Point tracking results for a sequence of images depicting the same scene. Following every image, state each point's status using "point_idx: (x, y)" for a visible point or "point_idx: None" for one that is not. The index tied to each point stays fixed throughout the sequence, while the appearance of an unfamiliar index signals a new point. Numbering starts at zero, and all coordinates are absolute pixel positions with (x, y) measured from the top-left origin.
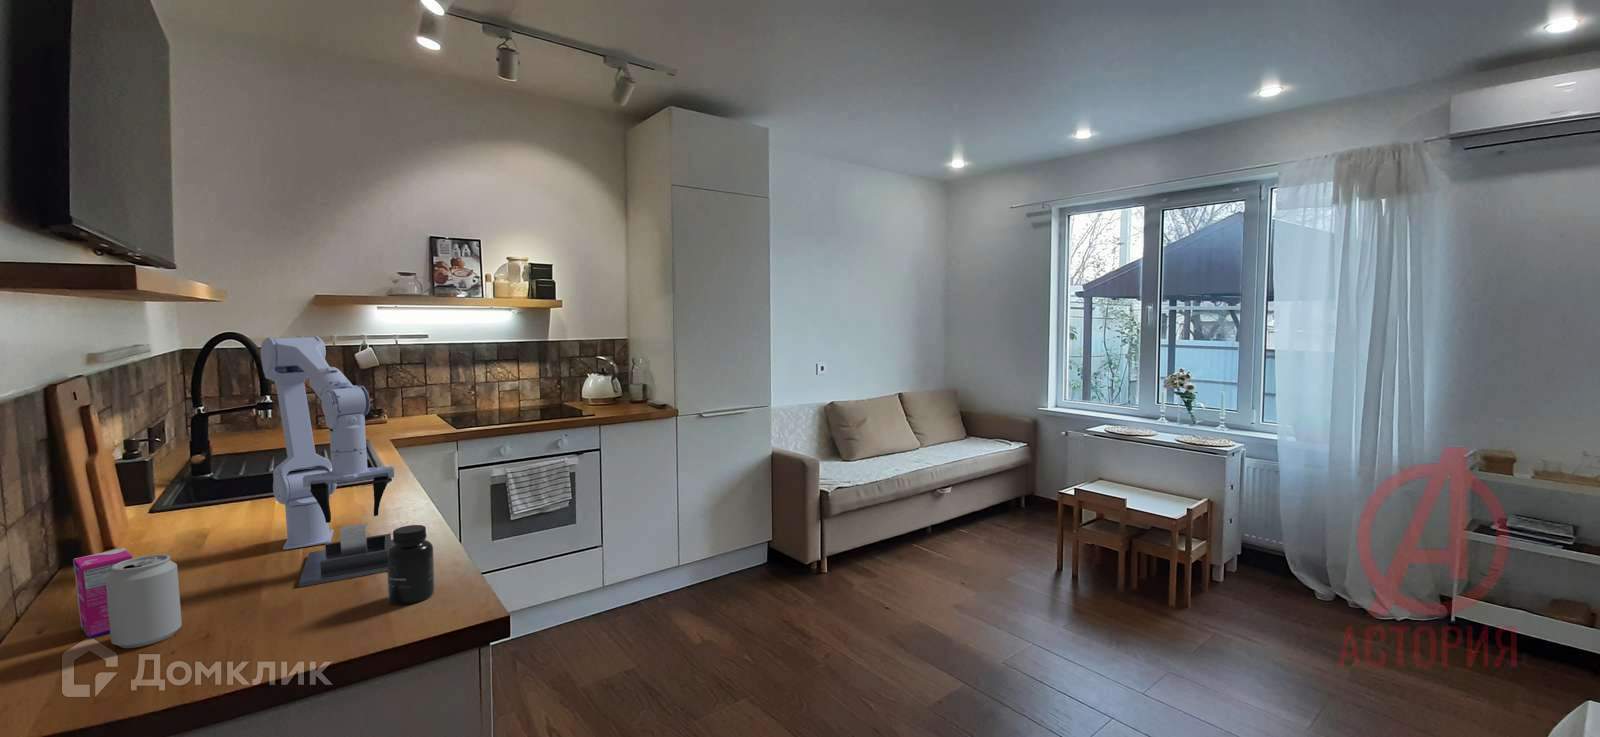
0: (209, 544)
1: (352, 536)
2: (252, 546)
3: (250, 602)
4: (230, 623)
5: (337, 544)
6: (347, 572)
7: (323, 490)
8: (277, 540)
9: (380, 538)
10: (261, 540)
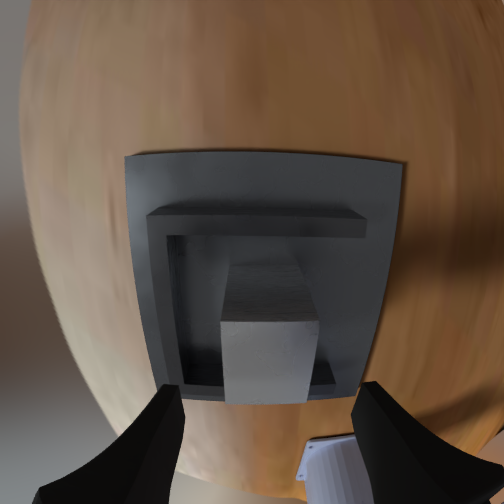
0: None
1: (272, 310)
2: None
3: (468, 131)
4: (471, 37)
5: None
6: (283, 172)
7: (471, 497)
8: None
9: (197, 380)
10: None
